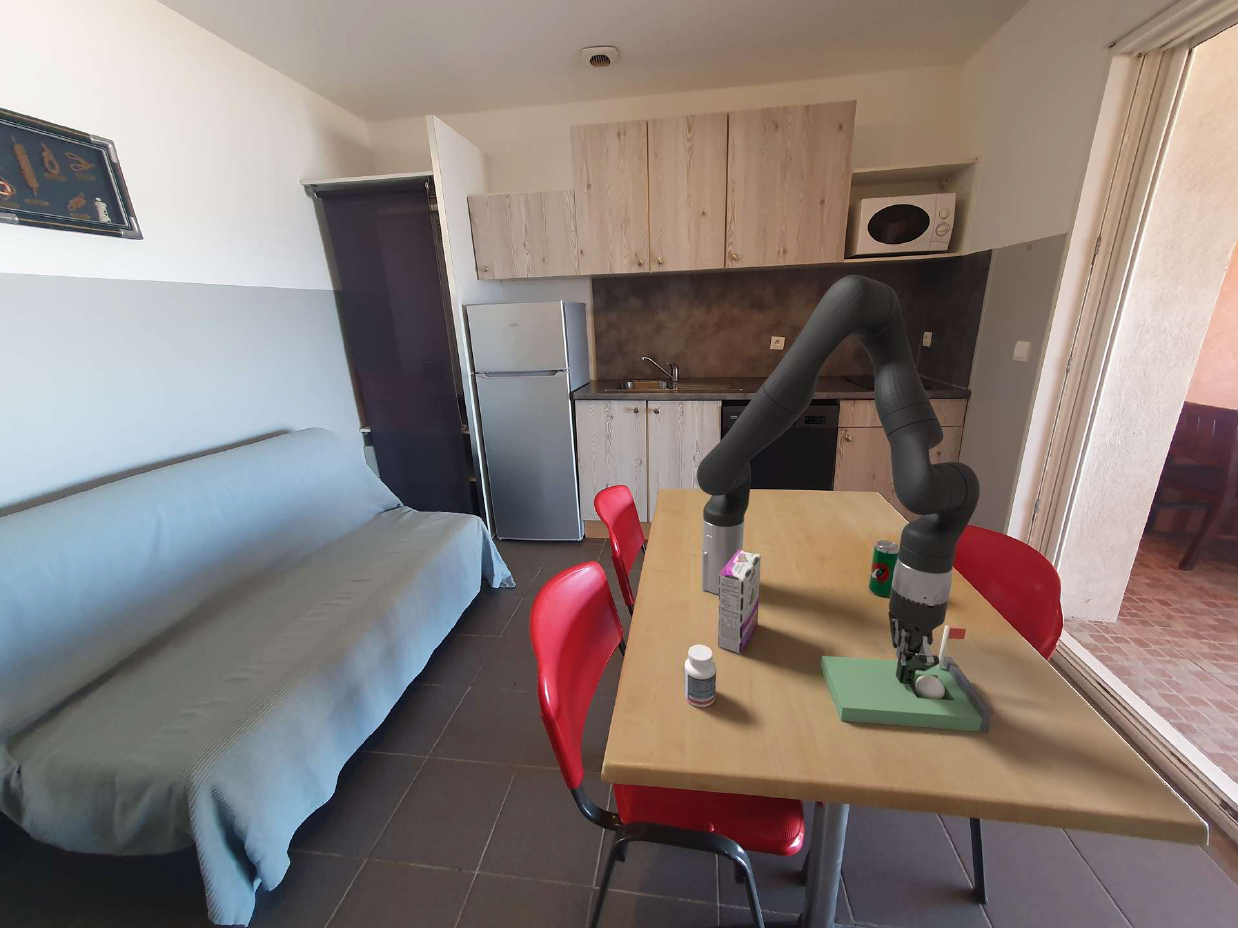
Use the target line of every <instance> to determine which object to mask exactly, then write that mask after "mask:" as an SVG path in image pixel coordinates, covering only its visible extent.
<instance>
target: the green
mask: <svg viewBox="0 0 1238 928" xmlns="http://www.w3.org/2000/svg"><path fill="white" fill-rule="evenodd" d="M966 631H967V628H966V627H952V626H950V625H947V624H946V625H944V629H943V635H942V640H941V643H940V644H941V645H940V650H939V655H938V657H939V664H938V665H936V666H934V667H932V668H930V669H929V670H927V671H917V670H916V672H915V678H914V683H913V684H901V683H900V682H899V680H898V679H897V677H896V670H897V664H898V659H884V658H883V659H882V658H881V659H880V658H867V657H866V658H864V657H863V658H862V657H847V656H833V655H832V656H829V655H822V656H821V663H820V669H821V672H822V674H823V677H824V681H825V682H826V685H827V687H828V690H829V693H830V695H831V698H832V700H833V703H834V706H835V708H836V712H837V714H838V716H839V719H840V722H841V721H842V722H855V723H865V724H877V725H891V726H893V725H894V726H905V727H906V726H907V727H919V728H929V729H940V730H941V729H942V730H943V729H944V730H957V731H969V732H979V733H989V728H990V726H991V720H992V716H993V713H994V711H993V709H992V708H991V707H990V705H989V704H988V703H987V701H986V700H985V699H984V698H983V696H982V695H981V693H979V691H978V690H977V688H976V687H975V686H974V685H973V683H972V682H971V680H970V679H968V677H967V675H966V674H965V673H964V672H963V670H962V669H961V668H960V667H959V665H958V664H957V663H956V662H955V660H954V659H953V658H952V656H946V651H947V650H946V649H947V644H948V640H950V639H951V640H952V639H953V640H965V636H966ZM923 675H931V676H934V677H936V678H937V679H939V680H940V681H941V683H942V684H943V686H944V690H945V693H944V696H943V698H942V699H941V700H940V699H926V698H922V697H921V696H920V695H919V694H918V692H917V690H916V681H917V679H918V678H919V677H920V676H923Z"/></svg>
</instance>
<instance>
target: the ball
mask: <svg viewBox="0 0 1238 928" xmlns="http://www.w3.org/2000/svg"><path fill="white" fill-rule="evenodd" d="M916 690H917V692H918V694H919V695H920V696H921V697H922V698H926V699H940V700H941V699H942V698H943V696H944V693H945V690H944V686H943V684H942V683H941V681H940V680H939V679H937V678H936V677H934V676H931V675H923V676H920V677H919V678H918V679H917V681H916Z"/></svg>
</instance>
